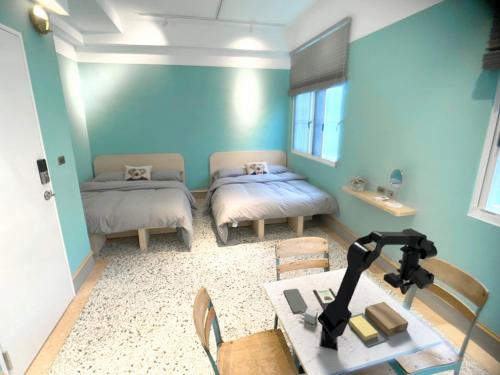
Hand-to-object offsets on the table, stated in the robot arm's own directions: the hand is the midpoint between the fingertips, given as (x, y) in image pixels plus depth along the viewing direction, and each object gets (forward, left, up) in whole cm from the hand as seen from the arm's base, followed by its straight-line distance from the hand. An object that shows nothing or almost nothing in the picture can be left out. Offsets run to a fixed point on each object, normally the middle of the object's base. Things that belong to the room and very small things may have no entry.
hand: (403, 293), depth 104 cm
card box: (-12, +15, -10) cm, 22 cm away
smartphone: (-3, +43, -13) cm, 45 cm away
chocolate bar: (0, +28, -13) cm, 31 cm away
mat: (-11, +14, -12) cm, 21 cm away
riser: (-5, +6, -12) cm, 14 cm away
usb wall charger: (-12, +37, -12) cm, 41 cm away
